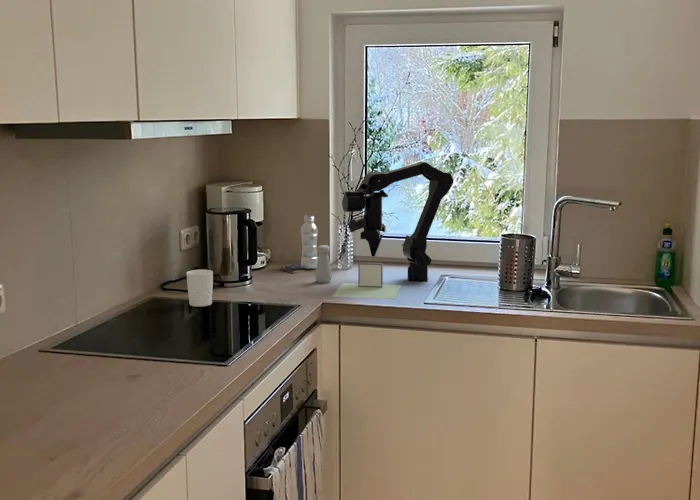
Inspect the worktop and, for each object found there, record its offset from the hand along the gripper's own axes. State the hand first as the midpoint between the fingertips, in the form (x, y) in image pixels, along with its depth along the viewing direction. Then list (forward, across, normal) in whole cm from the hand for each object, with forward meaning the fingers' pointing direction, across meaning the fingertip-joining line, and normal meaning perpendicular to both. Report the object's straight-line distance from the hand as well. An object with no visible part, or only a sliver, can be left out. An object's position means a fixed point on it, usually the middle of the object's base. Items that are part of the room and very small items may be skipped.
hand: (373, 256), depth 256 cm
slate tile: (+9, +6, 0) cm, 11 cm away
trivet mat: (+10, +12, 0) cm, 15 cm away
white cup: (+10, +37, -48) cm, 61 cm away
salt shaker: (+10, +1, -17) cm, 20 cm away
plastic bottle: (+10, -22, -27) cm, 36 cm away
